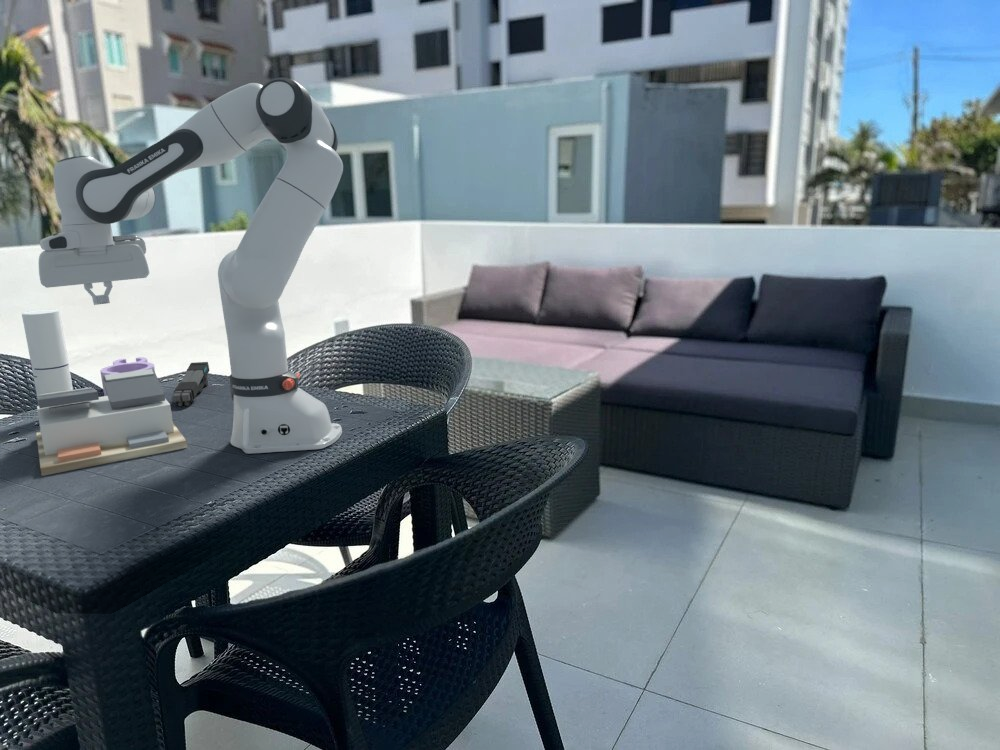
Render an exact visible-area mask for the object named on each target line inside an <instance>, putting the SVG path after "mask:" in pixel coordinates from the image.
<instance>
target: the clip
mask: <svg viewBox="0 0 1000 750" xmlns="http://www.w3.org/2000/svg"><path fill="white" fill-rule="evenodd" d="M146 369H154V371H155V372H156V370H155V364H154V363H153V362H149V361H148V358H147V357H143V356H141V357H140V356H138V357H137V356H136V358H135V361H134V362H127V359H126V358H120V359H117V360H113V362H112V365H109V366H108V365H107V366H106V367H103V368H101V369H100V371H99V372H100V377H101V383H102V384H101V385H102V391H103V395H104V396H107V393H106V390H105V387H104V383H103V377H102V376H105V375H109V374H116V373H124V372H131V371H139V370H146Z"/></svg>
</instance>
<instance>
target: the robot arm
mask: <svg viewBox="0 0 1000 750" xmlns="http://www.w3.org/2000/svg"><path fill="white" fill-rule="evenodd" d="M266 140H274V141H277V142H278V144H279V145H280V147H282V149H284V150H285V151H286V159H285V162H284V164H283V165H282V168H281V169H280V171H279V172H278V174H277V176H276V177H275V178H274V180H273V182H272V183H271V185H270V187H269V188H268V190H267V191H266V193H265V195H264V197H263V198H262V200H261V202H260V204H259V205H258V206H257V208H256V210H255V212H254V214H253V216H252V218H251V220H250V222H249V225H248V227H247V229H246V231H245V233H244V234H243V237H242V238H241V240H240V242H239V244H238V246H237V248H236V249H234V250H231V251H230V252H228V253H227V254H226V255H225V256H224V257H223V258H222V259H221V260H220V263H219V265H218V269H217V278H218V279H217V280H218V286H219V293H220V300H221V307H222V313H223V321H224V325H225V326H224V327H225V333H226V338H227V346H228V358H229V364H230V365H229V366H230V375H229V388H230V389H229V390H230V394H231V400H232V401H233V419H232V420H233V421H232V423H233V424H232V432H231V437H230V441H229V442H230V445H232V446H233V447H235V448H238V449H241V450H242V451H243V452H244V453H245V454H251V455H252V454H262V453H263V454H264V453H277V452H278V453H279V452H294V451H295V452H296V451H308V450H310V451H311V450H321V449H324V448H326V447H329V446H331V445H333V444H334V443H336V442H337V441H338V440H339V439H340V437H341V436H342V434H343V428H342V426H341V424H339V423H336V422H332V421H331V417H330V413H329V409H328V407H327V405H326V404H325V403H324V402H323V401H321V400H319V399H317V398H315V397H314V396H313V395H311V394H309V393H308V392H307V391H304V389H302V388H300V387H299V379H300V378H301V377H300V374H301V373H300V372H297V373H294V372H292V371H291V370H290V369H289V366H288V356H287V355H288V354H287V346H286V334H285V329H284V325H283V320H282V315H281V308H280V304H279V299H280V298H281V297H282V295H283V292H284V289H285V287H286V286H287V284H288V282H289V281H290V278H291V276H292V275H293V273H294V270H295V268H296V266H297V263H298V262H299V258H300V257H301V254H302V252H303V250H304V248H305V245H306V244H307V242H308V240H309V238H310V237H311V235H312V233H313V231H314V230H315V228H316V226H317V225H318V224H319V222H320V220H321V219H322V217H323V215H324V213H325V211H326V210H327V208H328V206H329V205H330V203H331V200H332V199H333V197H334V195H335V192H336V190H337V189H338V185H339V183H340V181H341V177H342V175H343V172H344V163H343V160H342V159H341V157H340V155H339V153H337V150H338V145H339V144H338V143H339V142H338V135H337V132H336V129H335V127H334V125H333V123H332V122H331V121H330V120H329V118H328V117H327V115H326V113H325V112H324V110H323V107H322V106H321V105H320V104H319V103H318V102H317V100H316V99H314V97H313V96H312V95H310V93H309V91H308V89H306V88H305V87H304V86H303V85H302V84H300V82H297V81H296V80H293V79H291V78H289V77H274V78H272V79H270V80H268V81H266V82H265V83H264V84H261V83H258V82H249V83H247V84H244V85H241V86H239V87H237V88H234V89H232V90H230V91H228V92H226V93H225V94H222V95H221V96H219V97H217V98H216V99H214V100H213V101H210V103H208V104H207V105H205V106H204V107H202V108H201V109H200V110H198V111H197V112H196V113H194V114H193V115H191V117H189V118H188V119H187V120H186V121H185V122H184V123H182V124H181V125H179V126H178V127H177V128H175V129H174V130H173V131H172V132H170V133H169V134H168V135H167V136H164V138H162V139H160V140H159V141H157V142H155V143H154V144H152V145H150V146H149V147H147V148H145V149H144V150H142V151H140V152H138V153H137V154H135V155H134V156H132V157H130V158H128V159H127V160H125V161H124V162H122V163H120V164H118V165H115V166H114V167H113V166H111V165H108V164H106V163H103V162H101V161H99V160H98V159H96V158H95V157H94V156H89V155H78V156H71V157H66V158H62V159H61V160H59V161H56V163H55V164H54V167H53V171H52V172H53V173H52V174H53V176H52V177H53V186H54V193H55V198H56V203H57V206H58V207H59V209H60V212H61V221H60V225H61V229H62V230H61V231H60V232H59V233H56V232H55V233H53V234H52V235H50V236H47V237H44V238H42V239H40V240H39V245H40V246H39V247H40V248H41V250H43V251H41V253H39V256H38V276H39V281H40V284H41V286H43V287H45V288H48V289H49V288H59V287H68V286H76V285H77V286H78V285H83V288H84V290H85V291H86V292H87V294H89V296H91V298H92V302H93V305H94V306H97V305H106V304H110V303H111V302H110V297H109V296H110V293H111V291H112V288H113V282H117V281H126V280H128V281H129V280H137V279H146V278H147V277H148V276H149V275H150V269H149V265H148V262H147V257H146V255H145V254H146V253H147V247H146V242H145V240H144V239H143V238H142V237H140V236H137V235H135V234H130V235H116V236H115V235H114V236H113V230H112V224H114V223H118V222H123V221H131V220H137V219H138V220H139V219H141V218H144V217H145V216H147V215H148V214H150V213H151V212H152V210H153V208H154V207H155V204H156V191H155V190H154V187H156V186H158V185H160V184H161V183H163V182H164V181H166V180H167V179H169V178H171V177H172V176H174V175H176V174H179V173H180V172H184V171H187V170H190V169H196V168H197V169H198V168H203V167H205V168H206V167H216V166H220V165H222V164H225V163H227V162H230V161H233V160H234V159H236V158H238V157H240V156H241V155H243V154H244V153H246V152H248V151H249V150H250V149H252V148H254V147H255V146H256V145H258V144H259V143H261V142H264V141H266ZM96 283H97V284H99V283H102V284H103V287H104V288H105V287H106V288H105V290H104V292H103V294H98V295H97V294H95V293H94V292H93V291H92V289H93V288H94V287H93V284H96Z"/></svg>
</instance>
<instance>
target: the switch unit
mask: <svg viewBox="0 0 1000 750" xmlns="http://www.w3.org/2000/svg"><path fill="white" fill-rule="evenodd" d="M98 397H99V400H93V401H86V402H79V403H73V404H66V405H59V406H53V407H46V408H40V407H39V405H37V406H36V408H37V415H38V422H39V430H40V431H37V432H36V440H37V449H38V459H39V468H40V472H41V476H42V477H44V476H49V475H55V474H59V473H65V472H69V471H75V470H79V469H85V468H90V467H95V466H100V465H104V464H105V465H106V464H111V463H114V462H115V463H116V462H120V461H127V460H130V459H131V460H132V459H137V458H141V457H147V456H151V455H158V454H162V453H167V452H172V451H177V450H182V449H183V450H184V449H188V443H187V440H186V438H185V437H184V436H183V434H182V432H181V431H180V430H179V429H178V427H177V426H176V425H175V423H174V421H173V413H172V407H171V403H170V402H169V401H168V400H167V399H166V398H165V401H160V402H154V403H147V404H141V405H135V406H128V407H122V408H116V409H112V408H111V405H110V402H109V399H108V396H98Z"/></svg>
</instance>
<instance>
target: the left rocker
mask: <svg viewBox="0 0 1000 750" xmlns="http://www.w3.org/2000/svg"><path fill="white" fill-rule="evenodd" d="M99 397H100V396H99V393H98V391H97V390H96V389H95V388H92V387H84V388H83V387H82V388H76V389H73V390H69V391H62V392H54V393H47V394H40V396H38V398H37V403H38V402H39V404H38V406H39V407H40V408H46V407H53V406H59V405H66V404H73V403H79V402H86V401H93V400H99Z"/></svg>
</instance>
